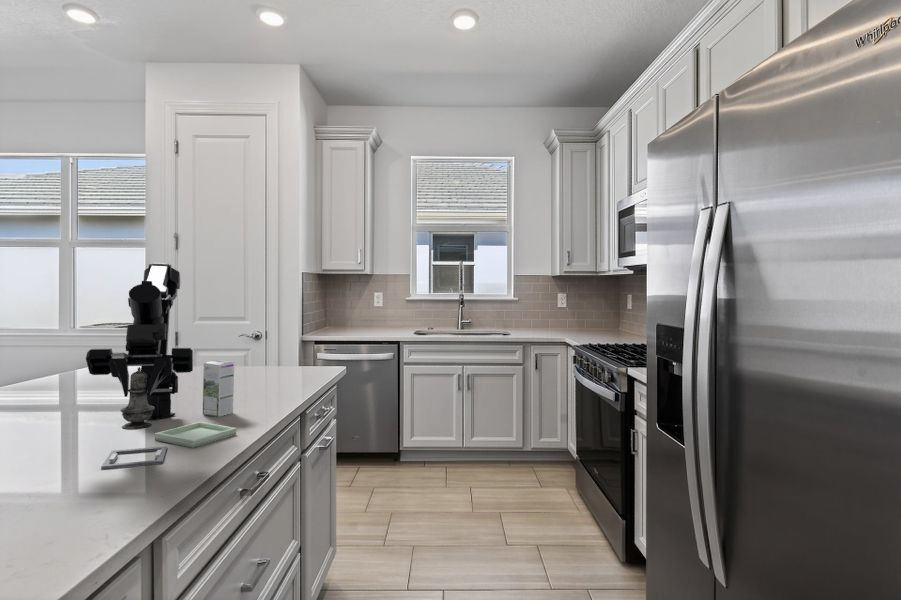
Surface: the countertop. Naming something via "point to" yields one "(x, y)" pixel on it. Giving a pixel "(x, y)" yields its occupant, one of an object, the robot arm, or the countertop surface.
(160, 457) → the socket
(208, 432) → the tray
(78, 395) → the countertop surface
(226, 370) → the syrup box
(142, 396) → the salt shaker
